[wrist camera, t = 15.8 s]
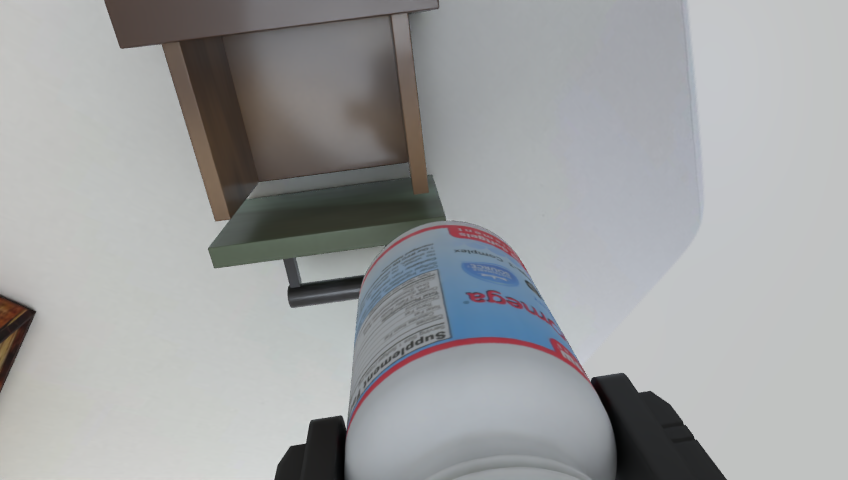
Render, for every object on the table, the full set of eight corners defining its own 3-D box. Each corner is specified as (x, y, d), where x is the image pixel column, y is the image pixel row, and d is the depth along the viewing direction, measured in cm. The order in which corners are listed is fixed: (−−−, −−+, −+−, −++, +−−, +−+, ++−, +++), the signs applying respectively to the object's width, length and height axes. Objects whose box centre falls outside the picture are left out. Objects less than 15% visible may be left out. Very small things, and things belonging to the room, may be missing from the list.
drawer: (440, 252, 36) (455, 309, 29) (265, 275, 36) (236, 340, 29) (404, -77, 28) (411, -110, 21) (177, -49, 28) (105, -73, 20)
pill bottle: (555, 296, 19) (761, 622, 9) (430, 387, 20) (482, 766, 10) (455, 178, 17) (573, 425, 7) (322, 288, 18) (247, 638, 8)
